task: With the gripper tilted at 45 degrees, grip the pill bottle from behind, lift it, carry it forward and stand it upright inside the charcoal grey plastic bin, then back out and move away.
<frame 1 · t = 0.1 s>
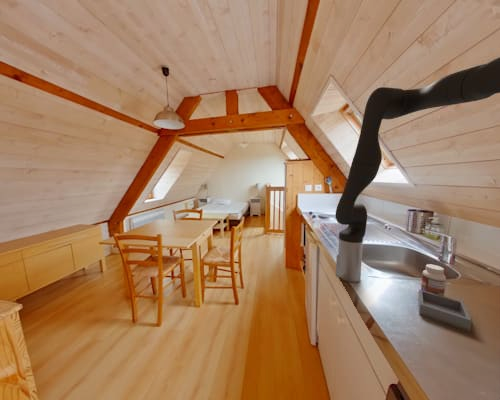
pill bottle: (431, 295, 69), on the counter
charcoal bin: (440, 313, 59), on the counter
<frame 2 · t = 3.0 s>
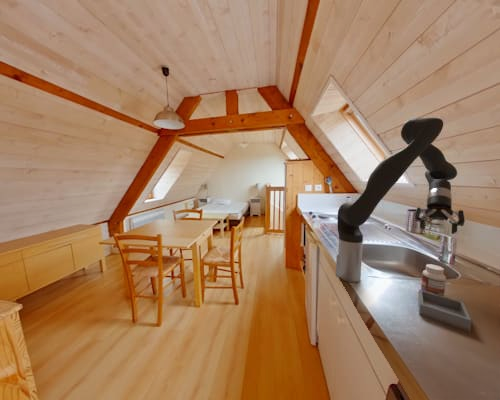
hand: (437, 230, 74), 23 cm above the counter, tool tilted 45°, fingers open, 8 cm apart
nothing on the counter moved.
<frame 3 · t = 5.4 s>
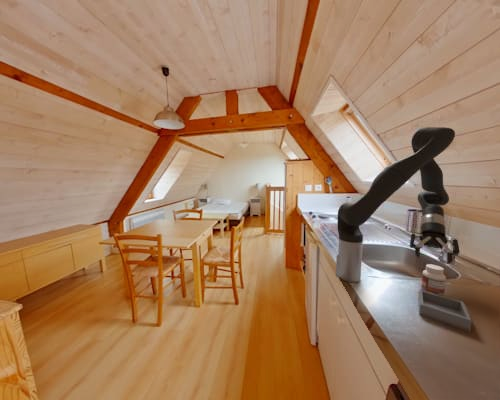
hand: (432, 260, 73), 11 cm above the counter, tool tilted 45°, fingers open, 8 cm apart
nothing on the counter moved.
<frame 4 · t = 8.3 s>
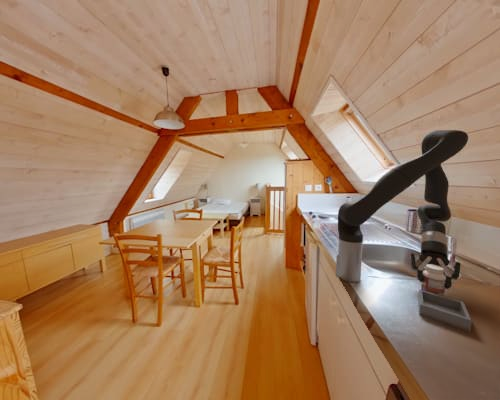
hand: (433, 284, 67), 5 cm above the counter, tool tilted 45°, fingers closed on pill bottle, 6 cm apart
pill bottle: (431, 295, 69), on the counter, touching gripper
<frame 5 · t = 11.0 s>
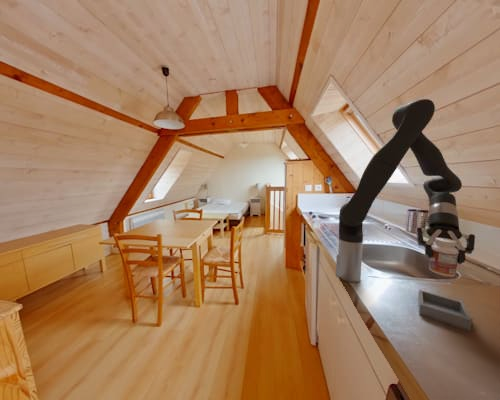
hand: (444, 259, 59), 18 cm above the counter, tool tilted 45°, fingers closed on pill bottle, 6 cm apart
pill bottle: (441, 272, 60), point 12 cm above the counter, touching gripper
when the fingers open (7 cm above the counter, at t = 14.2 s): pill bottle drops 1 cm, resting on charcoal bin.
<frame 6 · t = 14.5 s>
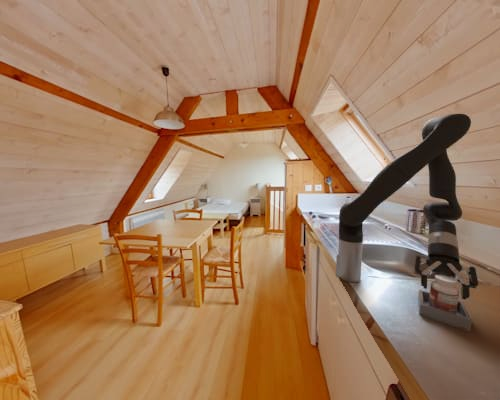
hand: (443, 292, 57), 8 cm above the counter, tool tilted 45°, fingers open, 8 cm apart
pill bottle: (441, 311, 59), point 1 cm above the counter, touching charcoal bin
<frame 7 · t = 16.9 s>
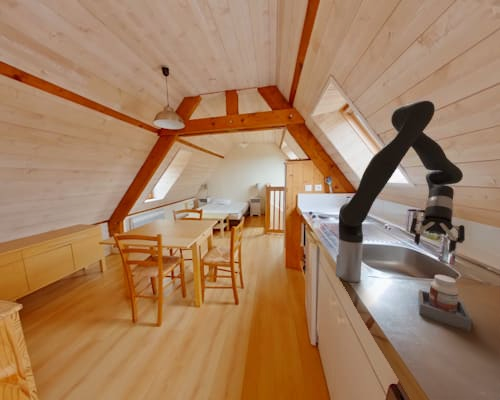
hand: (433, 247, 67), 18 cm above the counter, tool tilted 35°, fingers open, 8 cm apart
nothing on the counter moved.
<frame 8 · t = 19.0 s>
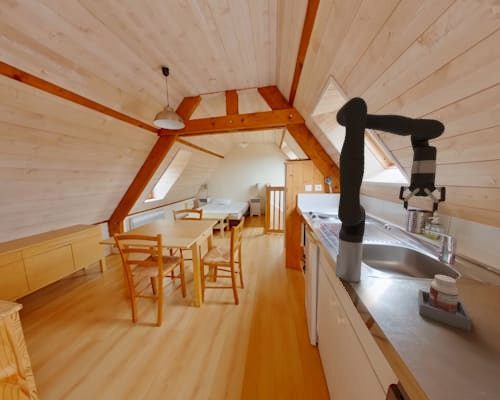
hand: (419, 210, 78), 30 cm above the counter, tool pointing down, fingers open, 8 cm apart
nothing on the counter moved.
at the end: pill bottle 0.2 cm off-centre on the charcoal bin, point 0.6 cm above the charcoal bin's base; pill bottle tilted 0°; the gripper is holding nothing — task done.
